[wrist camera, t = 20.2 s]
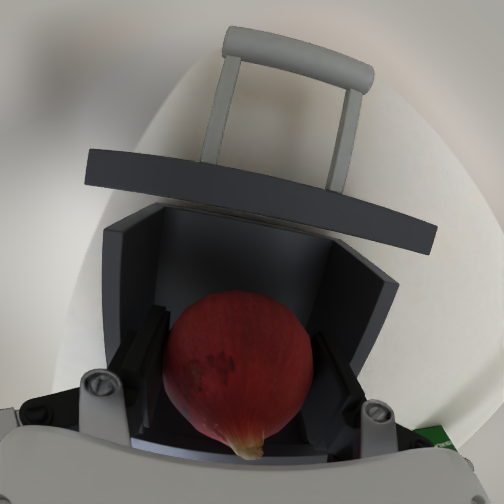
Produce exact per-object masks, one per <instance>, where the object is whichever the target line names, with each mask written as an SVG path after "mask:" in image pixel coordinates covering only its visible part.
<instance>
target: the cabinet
mask: <svg viewBox="0 0 504 504" xmlns="http://www.w3.org/2000/svg"><path fill="white" fill-rule="evenodd" d="M131 442H132V447H133V448H137V449H141V450H145V451H150V452H154V453H159V454H164V455H169V456H174V457H180V458H186V459H192V460H199V461H207V462H216V463H226V464H240V465H265V466H284V465H309V464H322V463H327V456H328V451H327V450H315V449H314V445H313V444H263V445H262V448H263V453H264V454H263V455H262V456H261V458H260V459H256V460H246V459H243V458H241V457H239V456H238V455H237V454H236V453H235V452H234V450H233V449H232V448H231V447H229V446H227V445H226V444H224V443H222V442H221V441H218V440H211V439H203V438H197V437H190V436H184V435H179V434H174V433H169V432H164V431H159V430H155V429H150V428H146V427H145V428H144V432H143V434H141V433H138V434H137V435H135V436H133V437H131Z"/></svg>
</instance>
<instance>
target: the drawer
mask: <svg viewBox="0 0 504 504" xmlns="http://www.w3.org/2000/svg"><path fill="white" fill-rule="evenodd" d="M222 57H223V58H225V61H224V64H223V68H222V72H221V75H220V79H219V83H218V86H217V90H216V94H215V98H214V102H213V106H212V110H211V114H210V118H209V122H208V126H207V131H206V135H205V140H204V144H203V149H202V153H201V158H200V162H197V161H191V160H184V159H178V158H171V157H164V156H157V155H150V154H141V153H133V152H123V151H112V150H101V149H89V155H88V160H87V167H86V175H85V185H90V186H97V187H104V188H111V189H118V190H124V191H131V192H137V193H144V194H150V195H156V196H162V197H168V198H174V199H179V200H185V201H191V202H196V203H202V204H207V205H212V206H218V207H223V208H228V209H233V210H238V211H243V212H248V213H253V214H258V215H263V216H268V217H272V218H277V219H282V220H286V221H291V222H295V223H300V224H304V225H309V226H313V227H318V228H322V229H326V230H331V231H335V232H339V233H343V234H347V235H351V236H356V237H360V238H364V239H368V240H372V241H376V242H380V243H383V244H387V245H391V246H395V247H399V248H403V249H406V250H410V251H414V252H417V253H421V254H425V255H429V254H430V251H431V248H432V245H433V242H434V238H435V235H436V231H437V228H438V227H437V226H436V225H433V224H430V223H428V222H425V221H422V220H420V219H417V218H414V217H411V216H408V215H405V214H403V213H400V212H397V211H394V210H391V209H388V208H385V207H382V206H379V205H375V204H372V203H369V202H366V201H363V200H359V199H356V198H353V197H349V196H346V195H342V193H343V189H344V185H345V181H346V176H347V172H348V168H349V163H350V158H351V154H352V149H353V144H354V139H355V135H356V129H357V124H358V119H359V113H360V108H361V102H362V96H363V95H365V94H366V93H367V92H368V91H369V90H370V88H371V86H372V83H373V80H374V69H373V67H372V66H370V65H368V64H366V63H363V62H361V61H358V60H356V59H353V58H351V57H348V56H346V55H343V54H340V53H338V52H335V51H332V50H329V49H326V48H323V47H320V46H317V45H314V44H311V43H307V42H304V41H301V40H297V39H293V38H289V37H285V36H282V35H278V34H273V33H269V32H264V31H259V30H253V29H249V28H243V27H236V26H230V27H229V28H228V30H227V32H226V35H225V38H224V42H223V48H222ZM241 61H244V62H249V63H254V64H259V65H264V66H268V67H273V68H277V69H281V70H285V71H289V72H292V73H296V74H300V75H303V76H306V77H310V78H313V79H316V80H319V81H322V82H326V83H329V84H331V85H334V86H337V87H340V88H343V89H345V90H347V91H346V92H345V98H344V103H343V109H342V114H341V119H340V124H339V129H338V134H337V138H336V143H335V148H334V152H333V157H332V161H331V166H330V170H329V175H328V179H327V183H326V187H325V189H326V190H324V189H321V188H317V187H313V186H309V185H305V184H301V183H297V182H293V181H289V180H285V179H281V178H277V177H272V176H268V175H263V174H259V173H254V172H249V171H245V170H240V169H235V168H230V167H224V166H219V165H216V164H217V160H218V155H219V151H220V146H221V142H222V137H223V133H224V129H225V124H226V120H227V116H228V112H229V108H230V104H231V100H232V96H233V92H234V88H235V84H236V80H237V76H238V73H239V69H240V65H241ZM398 287H399V283H397V282H396V281H395V280H394V279H392V278H391V277H390V276H389V275H387V274H386V273H385V272H383V271H382V270H381V269H380V268H378V267H377V266H376V265H374V264H373V263H372V262H370V261H369V260H368V259H367V258H365V257H364V256H363V255H361V254H360V253H359V252H357V251H356V250H355V249H353V248H352V247H350V246H349V245H348V244H346V243H345V242H343V241H342V240H341V239H337V238H333V237H328V236H324V235H319V234H315V233H310V232H306V231H301V230H296V229H292V228H287V227H282V226H278V225H273V224H268V223H263V222H258V221H253V220H248V219H243V218H238V217H233V216H228V215H223V214H218V213H212V212H207V211H202V210H196V209H191V208H185V207H180V206H174V205H169V204H163V203H157V202H156V203H154V204H152V205H150V206H147V207H145V208H143V209H141V210H139V211H137V212H135V213H133V214H131V215H129V216H127V217H125V218H124V219H122V220H120V221H118V222H116V223H114V224H112V225H110V226H108V227H106V228H105V229H104V230H103V248H102V312H103V330H104V343H105V353H106V362H107V368H108V366H109V364H110V362H111V360H112V358H113V356H114V355H115V353H116V351H117V349H118V347H119V345H120V344H121V342H122V340H123V338H124V336H125V335H126V333H127V332H128V331H129V330H130V331H134V332H138V331H139V329H140V327H141V325H142V324H143V322H144V320H145V318H146V316H147V314H148V312H149V310H150V308H151V306H152V305H153V304H155V305H159V306H164V307H166V311H170V312H171V315H170V326H169V331H170V329H171V328H172V326H173V325H174V323H175V322H176V321H177V319H178V318H179V316H180V315H181V314H182V312H183V311H184V309H185V308H186V307H188V306H190V305H192V304H193V303H195V302H197V301H199V300H200V299H202V298H204V297H206V296H207V295H209V294H214V293H221V292H227V291H232V290H241V291H248V292H255V293H262V294H265V295H267V296H268V297H270V298H272V299H274V300H276V301H278V302H279V303H281V304H283V305H285V306H287V307H288V308H289V309H290V310H291V311H292V313H293V314H294V315H295V316H296V318H297V319H298V321H299V322H300V324H301V325H302V326H303V328H304V329H305V331H306V332H307V334H308V335H309V338H310V342H311V339H312V337H313V335H314V334H317V333H318V332H319V331H325V332H332V333H333V335H334V337H335V339H336V341H337V342H338V344H339V346H340V348H341V350H342V352H343V353H344V355H345V357H346V359H347V361H348V363H349V365H350V367H351V368H352V370H353V372H354V374H355V376H356V378H357V377H358V375H359V373H360V371H361V369H362V367H363V365H364V363H365V361H366V359H367V358H368V356H369V354H370V352H371V349H372V347H373V345H374V343H375V341H376V339H377V337H378V335H379V333H380V330H381V328H382V326H383V324H384V321H385V319H386V317H387V315H388V312H389V310H390V307H391V305H392V303H393V300H394V298H395V295H396V292H397V290H398ZM146 428H147V427H146ZM150 429H155V430H159V431H164V432H169V433H174V434H179V435H184V436H190V437H197V438H203V439H211V440H216V439H213V438H211V437H209V436H207V435H205V434H203V433H201V432H200V431H198V430H197V429H196V428H195V427H194V426H193V425H192V424H191V423H190V422H189V421H188V420H187V419H186V418H185V417H184V416H183V415H182V414H181V413H180V412H179V410H178V409H177V408H176V407H175V406H174V404H173V403H172V402H171V400H170V398H169V397H168V395H167V393H166V391H165V387H164V382H163V380H162V384H161V387H160V391H159V395H158V398H157V402H156V406H155V410H154V414H153V417H152V421H151V425H150ZM263 444H311V443H310V442H309V438H308V435H307V431H306V427H305V423H304V419H303V415H302V411H301V409H300V410H299V412H298V413H297V414H296V415H295V416H294V417H293V418H292V419H291V420H290V421H289V422H288V423H287V424H286V425H285V426H284V427H283V428H282V429H281V430H280V431H279V432H277V433H275V434H273V435H271V436H269V437H267V438H265V439H264V443H263Z"/></svg>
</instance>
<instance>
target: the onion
mask: <svg viewBox="0 0 504 504" xmlns="http://www.w3.org/2000/svg"><path fill="white" fill-rule="evenodd" d="M162 374H163V382H164V387H165V391H166V393H167V395H168V397H169V398H170V400H171V402H172V403H173V404H174V406H175V407H176V408H177V409H178V410H179V412H180V413H181V414H182V415H183V416H184V417H185V418H186V419H187V420H188V421H189V422H190V423H191V424H192V425H193V426H194V427H195V428H196V429H197V430H198V431H200V432H201V433H203V434H205V435H207V436H209V437H211V438H213V439H216V440H218V441H221V442H222V443H224V444H226V445H227V446H229V447H231V448H232V449H233V450H234V452H235V453H236V454H237V455H238V456H239V457H241V458H243V459H246V460H256V459H260V458H261V456H262V455H263V454H264V453H263V448H262V445H263V443H264V439H265V438H267V437H269V436H271V435H273V434H275V433H277V432H279V431H280V430H281V429H282V428H283V427H284V426H285V425H286V424H287V423H288V422H289V421H290V420H291V419H292V418H293V417H294V416H295V415H296V414H297V413H298V412H299V410H300V409H301V407H302V405H303V403H304V401H305V399H306V396H307V394H308V392H309V389H310V387H311V385H312V380H313V374H314V368H313V357H312V348H311V343H310V338H309V335H308V334H307V332H306V331H305V329H304V328H303V326H302V325H301V324H300V322H299V321H298V319H297V318H296V316H295V315H294V314H293V313H292V311H291V310H290V309H289V308H288V307H287V306H285V305H283V304H281V303H279V302H278V301H276V300H274V299H272V298H270V297H268V296H267V295H265V294H262V293H255V292H248V291H241V290H232V291H227V292H221V293H214V294H209V295H207V296H206V297H204V298H202V299H200V300H199V301H197V302H195V303H193V304H192V305H190V306H188V307H186V308H185V309H184V311H183V312H182V314H181V315H180V316H179V318H178V319H177V321H176V322H175V323H174V325H173V326H172V328H171V329H170V331H169V332H168V334H167V336H166V338H165V342H164V346H163V354H162Z"/></svg>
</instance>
